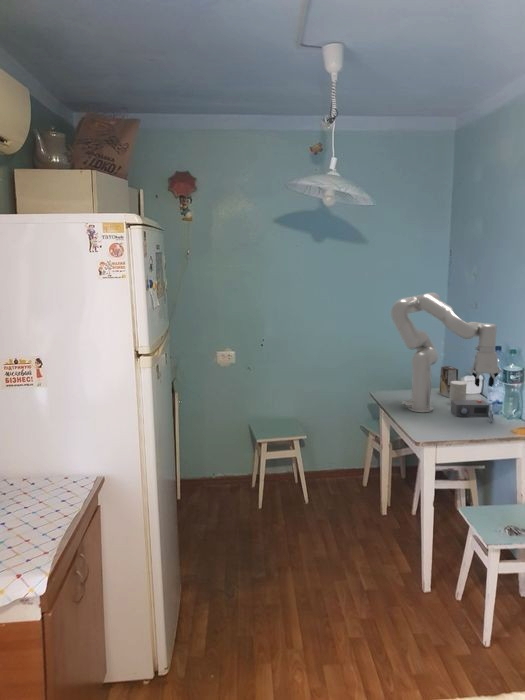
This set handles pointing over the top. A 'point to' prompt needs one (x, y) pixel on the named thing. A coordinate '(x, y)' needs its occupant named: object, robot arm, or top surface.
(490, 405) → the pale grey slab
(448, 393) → the coffee box
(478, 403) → the camera body
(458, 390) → the cup
